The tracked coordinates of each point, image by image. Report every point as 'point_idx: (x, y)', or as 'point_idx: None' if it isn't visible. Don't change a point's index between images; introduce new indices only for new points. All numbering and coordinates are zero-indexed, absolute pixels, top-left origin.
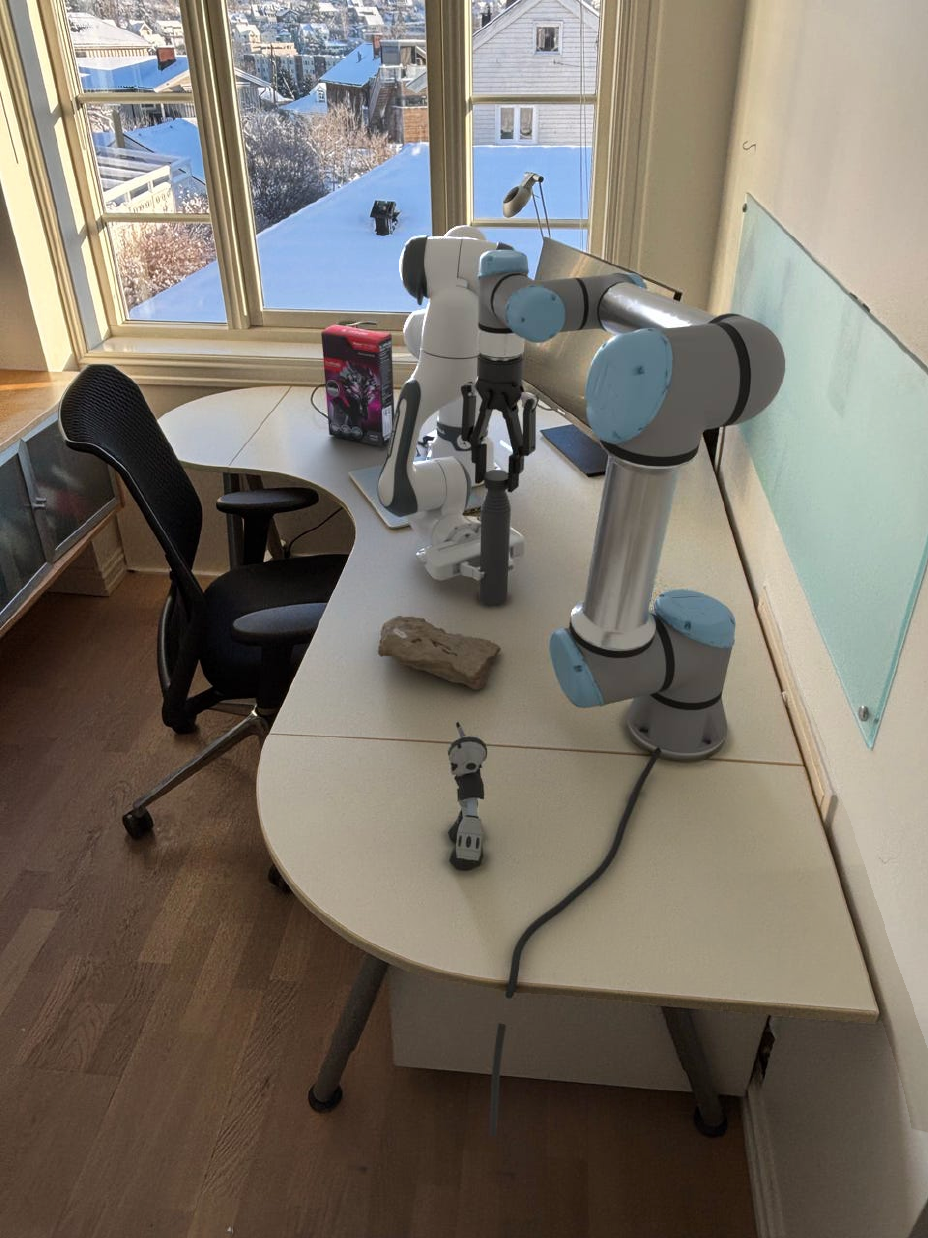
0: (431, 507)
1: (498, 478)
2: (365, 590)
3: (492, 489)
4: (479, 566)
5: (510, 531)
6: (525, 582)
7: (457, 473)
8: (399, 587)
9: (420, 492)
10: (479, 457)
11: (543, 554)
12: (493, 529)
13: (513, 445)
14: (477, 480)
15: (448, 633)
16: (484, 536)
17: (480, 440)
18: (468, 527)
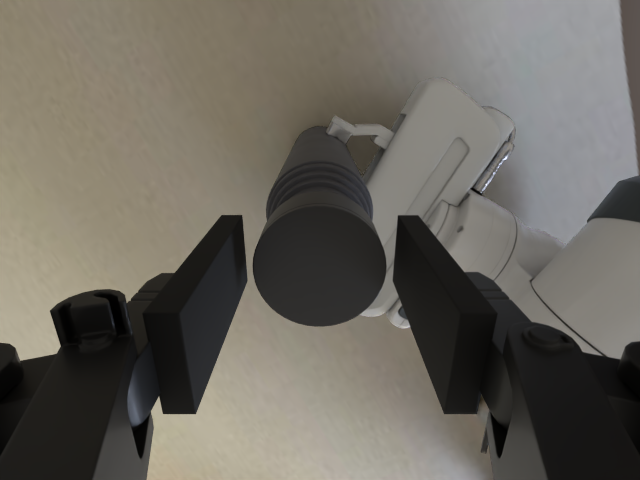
0: (556, 255)
1: (294, 242)
2: (575, 41)
3: (310, 193)
4: (364, 178)
5: None
6: None
7: None
8: (510, 93)
9: (622, 239)
10: (437, 282)
11: (314, 328)
12: (303, 154)
13: (81, 397)
14: (408, 219)
15: None
16: (334, 148)
17: (501, 410)
18: None
